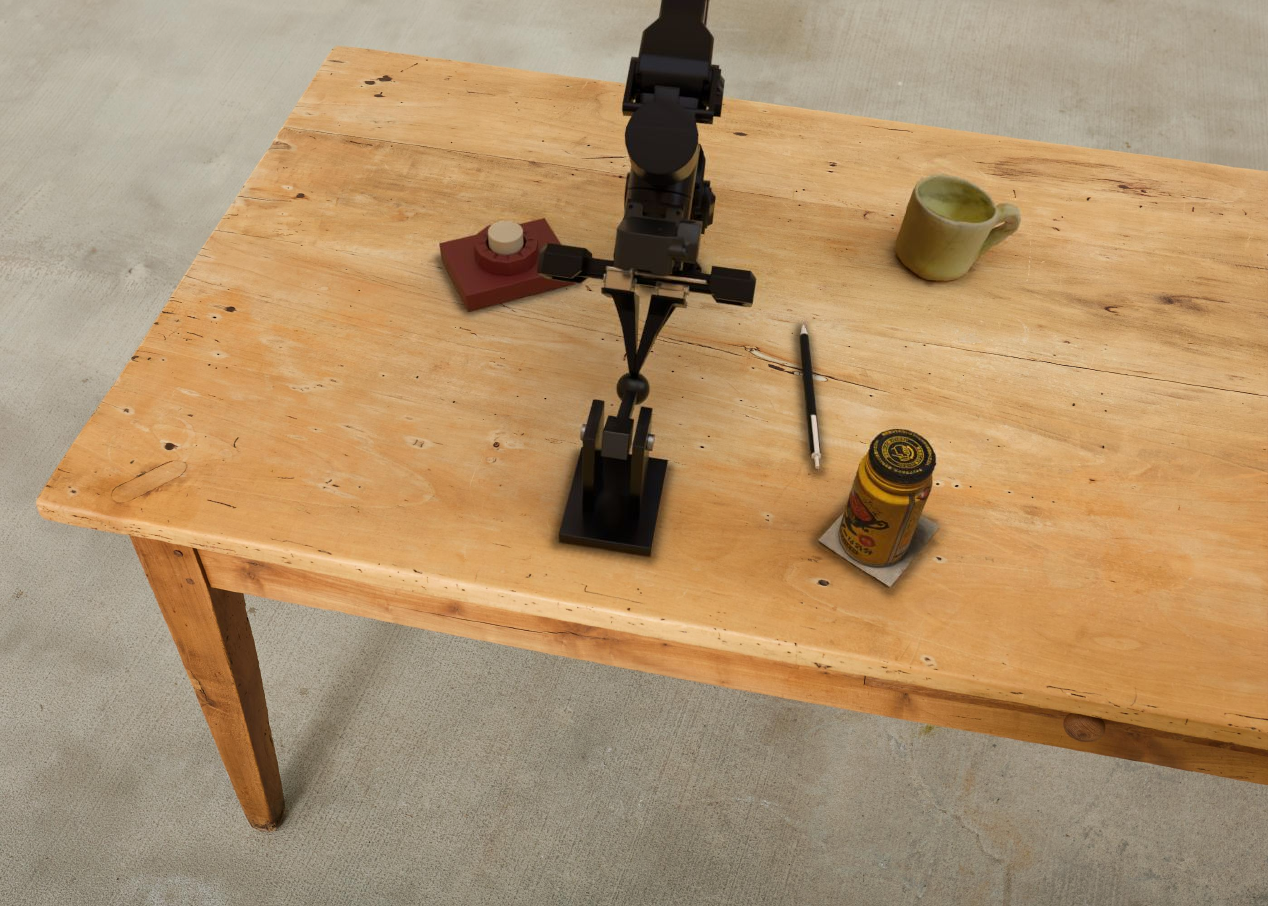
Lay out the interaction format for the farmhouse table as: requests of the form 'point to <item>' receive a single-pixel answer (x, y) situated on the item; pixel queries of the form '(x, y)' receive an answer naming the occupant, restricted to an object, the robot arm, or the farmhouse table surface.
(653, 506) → the lever bracket
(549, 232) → the button housing
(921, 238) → the mug
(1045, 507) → the farmhouse table surface
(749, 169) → the farmhouse table surface
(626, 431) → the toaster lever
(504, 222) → the button
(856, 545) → the condiment
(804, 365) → the pen
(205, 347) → the farmhouse table surface
